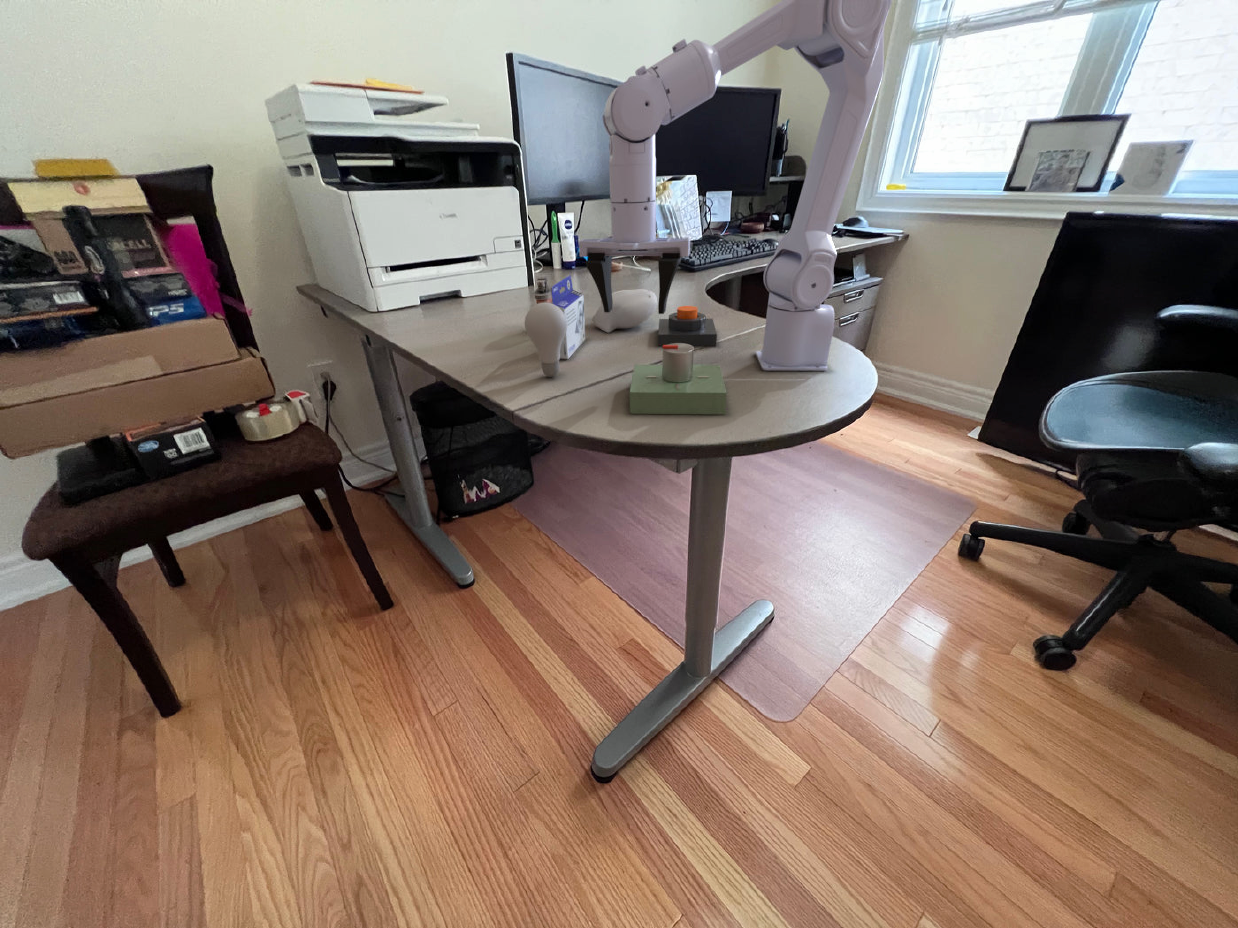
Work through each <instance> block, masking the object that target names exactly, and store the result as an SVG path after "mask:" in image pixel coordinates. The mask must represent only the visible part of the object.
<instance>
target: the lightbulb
mask: <svg viewBox="0 0 1238 928" xmlns="http://www.w3.org/2000/svg"><path fill="white" fill-rule="evenodd" d="M524 329H525V332H526V334H527V336H528V338H529V339H530V341H531V342H532V343H533V345H534V347H535V349H536V351H537V354H538V355H537V356H538V359H539V361H540V363H541V364H540V365H541V369H542V373H543V374H544V375H546V376H547V377H549V378H553V377H555V376H556V375H558V374H559V373H560V360H561V359H560V347H561V343H562V341H563V339H564V336H565V333H566V331H567V320H566V317H565V315H564V313H563V312H562V310H561V309H560V308H559V307H557V306H556V305H554V304H551V303H539V304H537V303H536V304H534V305H533V306H532V307H530V308H529V310H528V311H527V313H526V315H525V317H524Z"/></svg>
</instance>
